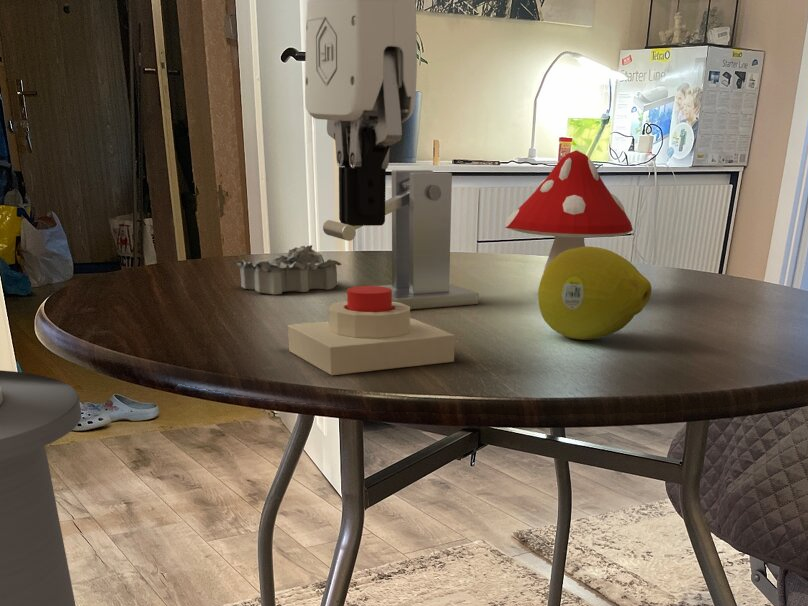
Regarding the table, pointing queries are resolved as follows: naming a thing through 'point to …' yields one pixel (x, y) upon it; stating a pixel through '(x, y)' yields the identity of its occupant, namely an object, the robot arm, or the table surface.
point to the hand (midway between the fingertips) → (362, 223)
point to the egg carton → (289, 272)
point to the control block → (369, 341)
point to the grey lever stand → (424, 243)
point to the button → (369, 299)
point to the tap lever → (349, 232)
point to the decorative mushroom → (571, 207)
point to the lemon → (591, 293)
